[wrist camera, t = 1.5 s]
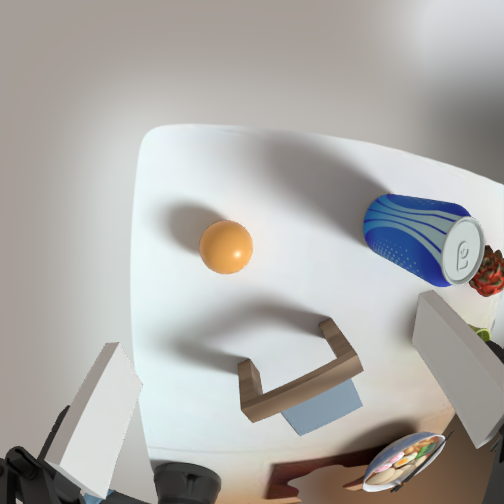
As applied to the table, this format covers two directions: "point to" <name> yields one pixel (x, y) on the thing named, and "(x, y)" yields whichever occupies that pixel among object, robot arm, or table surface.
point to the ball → (226, 247)
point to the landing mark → (323, 408)
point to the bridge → (303, 387)
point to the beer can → (426, 238)
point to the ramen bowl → (402, 461)
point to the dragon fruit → (489, 273)
